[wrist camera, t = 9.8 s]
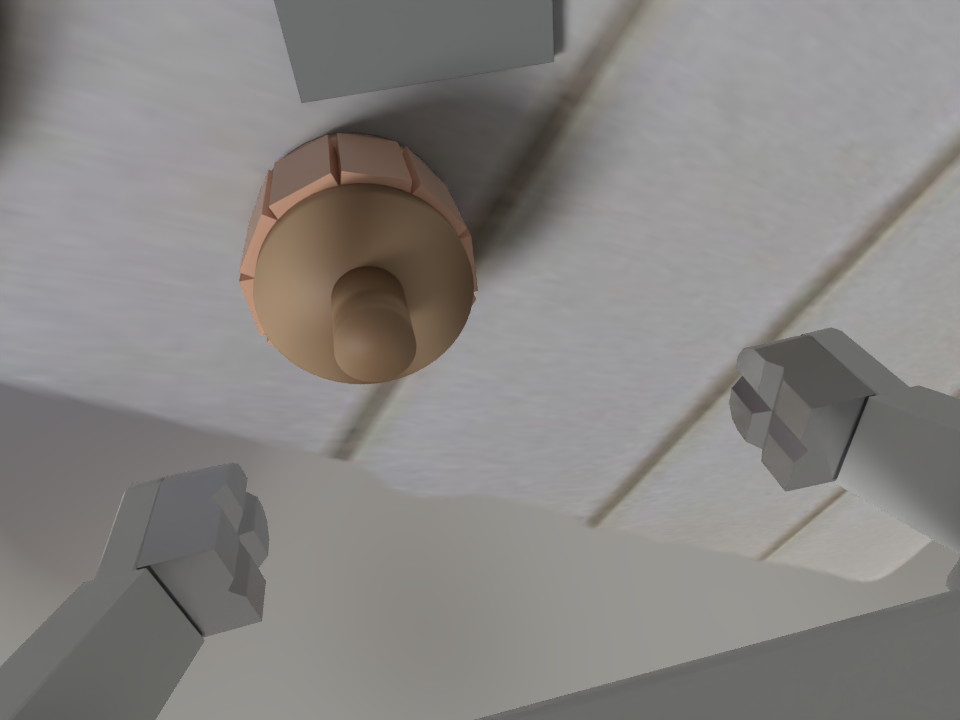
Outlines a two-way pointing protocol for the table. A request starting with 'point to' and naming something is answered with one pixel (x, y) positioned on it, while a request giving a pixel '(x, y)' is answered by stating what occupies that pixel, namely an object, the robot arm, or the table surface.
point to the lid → (362, 284)
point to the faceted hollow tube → (340, 165)
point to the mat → (408, 41)
